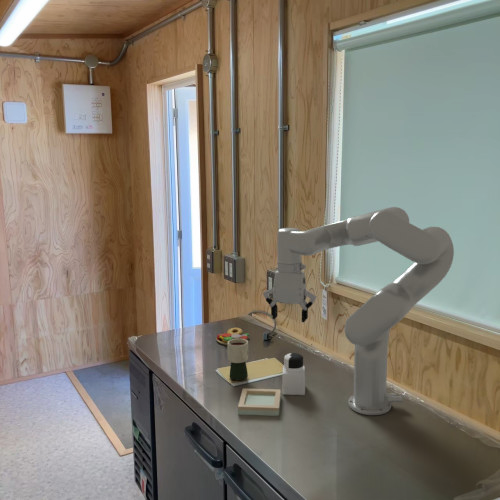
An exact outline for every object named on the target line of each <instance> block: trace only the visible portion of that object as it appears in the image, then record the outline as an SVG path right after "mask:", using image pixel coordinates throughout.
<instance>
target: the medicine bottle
mask: <svg viewBox="0 0 500 500" xmlns="http://www.w3.org/2000/svg"><path fill="white" fill-rule="evenodd" d="M283 359H284V360H283V363H284V365H282V373H281V374H282V377H281V378H282V379H281V381H282V382H281V384H282V385H281V387H282V389H281V395H285V396H286V395H288V396H305V395H306V366H305V365H304V356H303V355H302V354H300V353H297V352H296V353H295V352H290V353H287V354H285V355H284V358H283Z"/></svg>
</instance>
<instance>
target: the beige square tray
mask: <svg viewBox="0 0 500 500" xmlns="http://www.w3.org/2000/svg"><path fill="white" fill-rule="evenodd" d="M281 398H282V389H281V388H280V389H274V388H273V389H272V388H269V389H268V388H245V387H244V388H242V389H241V394H240V397H239V401H238V405H237V415H239V416H241V415H242V416H244V415H245V416H271V417H272V416H273V417H280V409H281V406H280V405H281Z"/></svg>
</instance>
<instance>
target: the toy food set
mask: <svg viewBox="0 0 500 500" xmlns="http://www.w3.org/2000/svg"><path fill="white" fill-rule="evenodd" d="M243 332H244V331H243V330H242V329H241V328H239V327H231V328H228V329H227V332H225V333H221V334H217V335H216V338H215V339H216V341H217V342H218V343H219V344H221V345H223V346H227V342H228V341H229V340H232V339H245V340H247V341H248V338H249V335H250V334H249V332H247V333H246V332H245V333H243Z"/></svg>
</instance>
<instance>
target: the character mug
mask: <svg viewBox="0 0 500 500" xmlns="http://www.w3.org/2000/svg"><path fill="white" fill-rule="evenodd" d="M226 346H227V349H226V351H227V360H228V362H229V363H230V369H229V378H230V379H231V380H235V381H236V380H238V381H239V380H240V379H241V380H245V379H248V378H249V377H248V376H249V375H248V368H247V364H246V363H247V361H248V360H249V357H250V356H249V340H248V339H247V340H245V339H232V340H229V341H228V342H227V345H226ZM241 380H240V381H241Z"/></svg>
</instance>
